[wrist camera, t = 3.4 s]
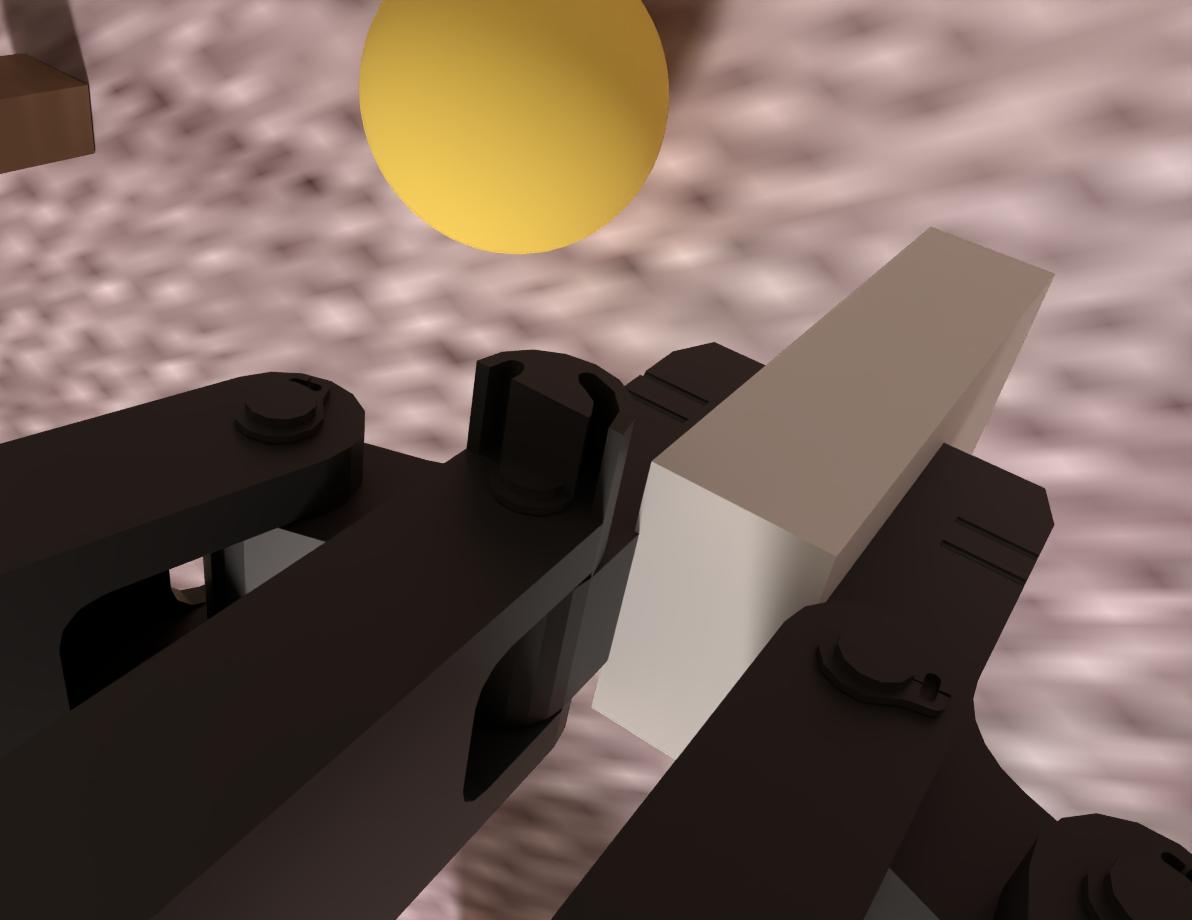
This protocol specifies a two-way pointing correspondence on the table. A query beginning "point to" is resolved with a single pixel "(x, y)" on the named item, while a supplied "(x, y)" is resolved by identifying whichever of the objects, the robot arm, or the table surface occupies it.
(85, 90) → the bridge
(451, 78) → the ball
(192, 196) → the table surface
